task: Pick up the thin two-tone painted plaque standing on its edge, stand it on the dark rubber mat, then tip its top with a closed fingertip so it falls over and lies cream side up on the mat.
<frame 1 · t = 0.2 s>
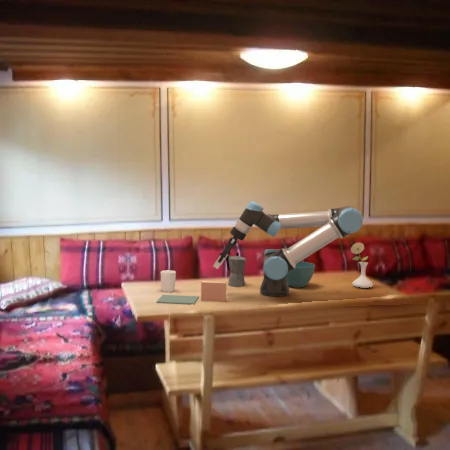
hand: (217, 265, 297), 16 cm above the table, tool tilted 30°, fingers open, 13 cm apart
coffeepot: (235, 285, 329), on the table
flower in vase: (361, 287, 331), on the table
mat: (177, 300, 290), on the table
plaque: (213, 300, 291), on the table
white cup: (167, 291, 311), on the table
teal bowl: (297, 286, 330), on the table
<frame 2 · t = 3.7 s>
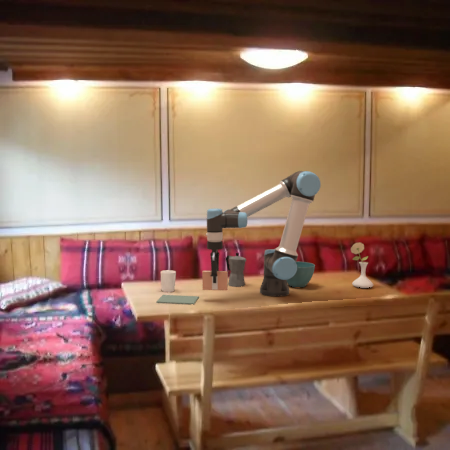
hand: (215, 288, 291), 6 cm above the table, tool pointing down, fingers closed on plaque, 2 cm apart
plaque: (215, 289, 291), point 5 cm above the table, touching gripper
everything else where it was.
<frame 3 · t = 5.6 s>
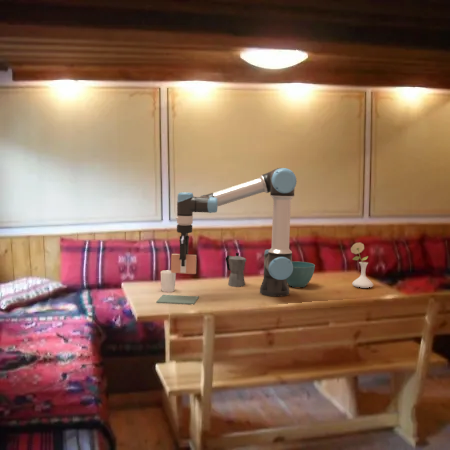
hand: (183, 272, 293), 13 cm above the table, tool pointing down, fingers closed on plaque, 2 cm apart
plaque: (183, 272, 293), point 13 cm above the table, touching gripper
everything else where it was.
when the fingers open (1 cm above the table, at t = 7.7 s): plaque stays where it is, resting on mat.
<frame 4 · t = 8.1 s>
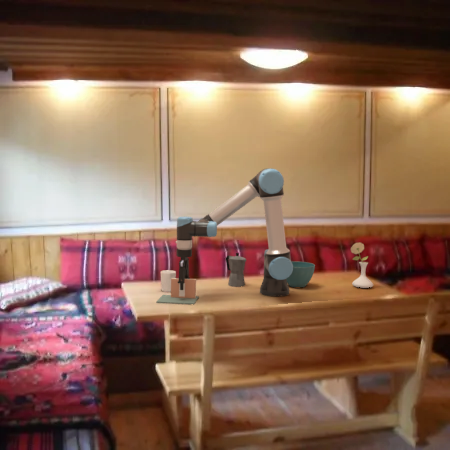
hand: (183, 294, 294), 2 cm above the table, tool pointing down, fingers open, 8 cm apart
plaque: (183, 297, 294), point 1 cm above the table, touching mat
everything else where it was.
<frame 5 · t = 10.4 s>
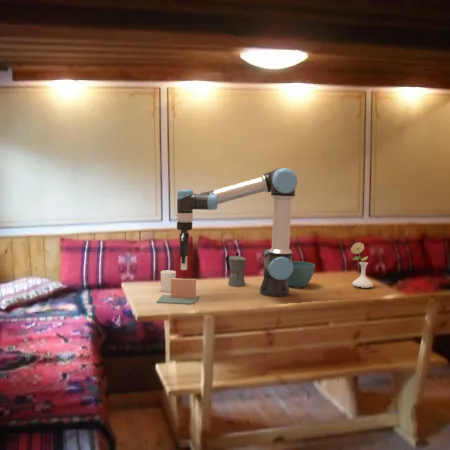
hand: (183, 269, 292), 14 cm above the table, tool pointing down, fingers closed
nothing on the table moved.
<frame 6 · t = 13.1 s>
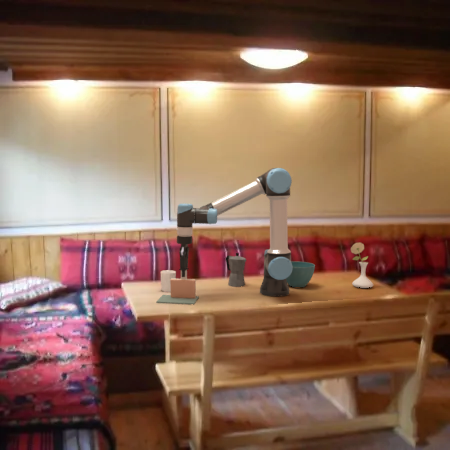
hand: (183, 283, 294), 8 cm above the table, tool pointing down, fingers closed
plaque: (183, 296, 294), point 1 cm above the table, tilted 11°, touching mat
everything else where it was.
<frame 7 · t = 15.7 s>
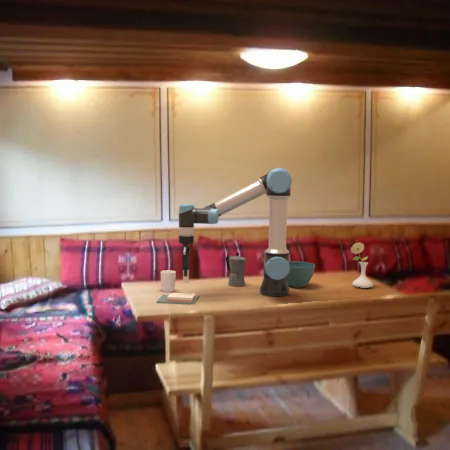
hand: (185, 282, 298), 7 cm above the table, tool pointing down, fingers closed
plaque: (182, 295, 293), point 2 cm above the table, tilted 90°, touching mat
everything else where it was.
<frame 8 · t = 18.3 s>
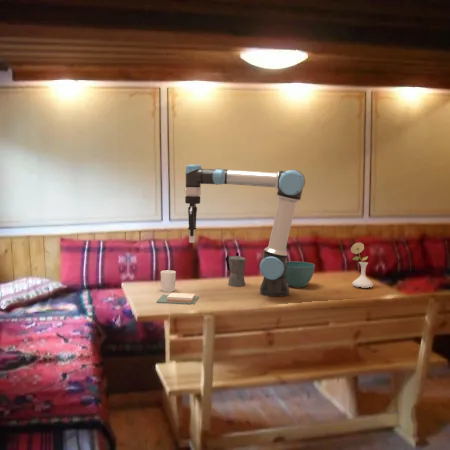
hand: (192, 242, 302), 26 cm above the table, tool pointing down, fingers closed
nothing on the table moved.
at the end: plaque tilted 90°; plaque inside the target area on the mat (3.4 cm from its centre), point 1.7 cm above the mat's base; the gripper is holding nothing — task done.
